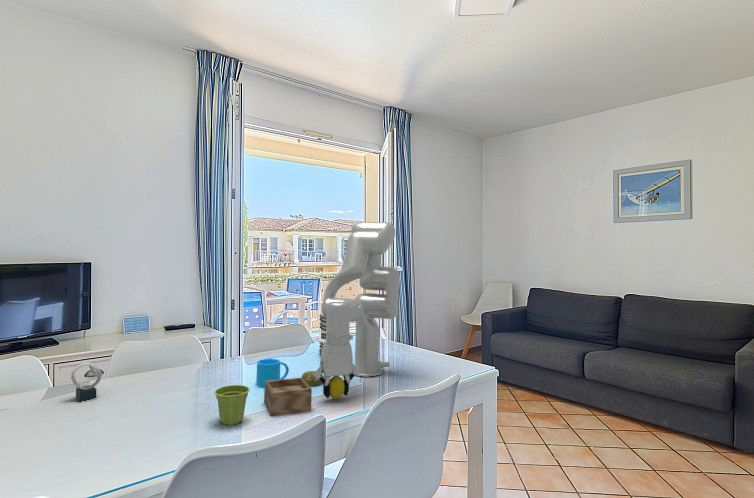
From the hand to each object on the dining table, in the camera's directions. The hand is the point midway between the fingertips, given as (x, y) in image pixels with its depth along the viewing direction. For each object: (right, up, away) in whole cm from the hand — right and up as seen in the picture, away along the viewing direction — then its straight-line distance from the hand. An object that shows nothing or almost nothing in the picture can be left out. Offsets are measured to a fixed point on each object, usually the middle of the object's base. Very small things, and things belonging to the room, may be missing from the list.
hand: (335, 395), depth 138 cm
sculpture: (-10, -2, +16) cm, 19 cm away
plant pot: (-27, -1, -19) cm, 33 cm away
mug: (-24, -1, +15) cm, 28 cm away
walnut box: (-14, -1, -7) cm, 16 cm away
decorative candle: (-9, -2, +54) cm, 54 cm away
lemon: (0, -2, 0) cm, 2 cm away
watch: (-78, 0, -5) cm, 78 cm away
